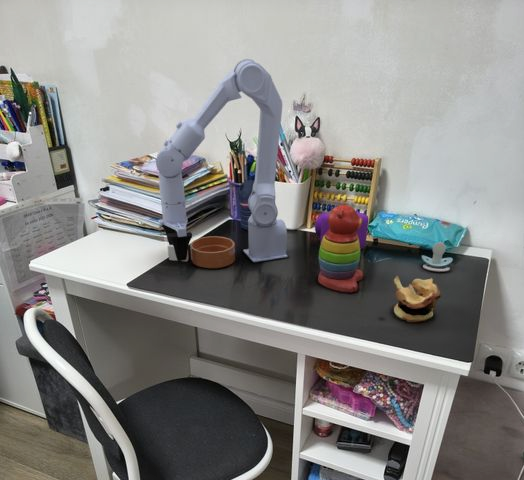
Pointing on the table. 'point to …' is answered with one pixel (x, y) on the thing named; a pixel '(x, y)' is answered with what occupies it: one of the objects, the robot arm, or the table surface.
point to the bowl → (212, 252)
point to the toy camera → (323, 227)
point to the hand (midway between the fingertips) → (178, 254)
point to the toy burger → (416, 298)
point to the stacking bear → (341, 251)
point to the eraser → (172, 253)
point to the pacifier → (437, 259)
